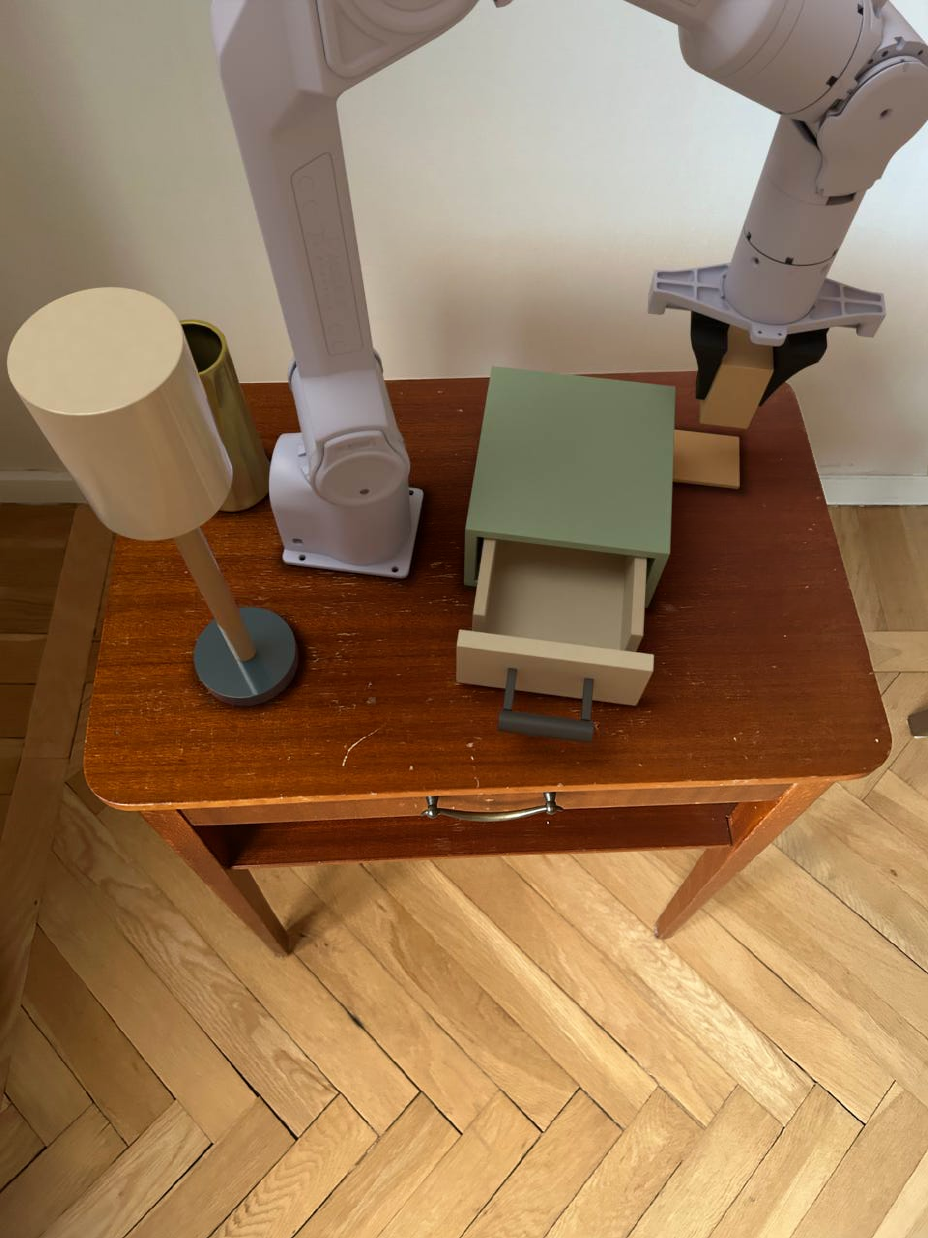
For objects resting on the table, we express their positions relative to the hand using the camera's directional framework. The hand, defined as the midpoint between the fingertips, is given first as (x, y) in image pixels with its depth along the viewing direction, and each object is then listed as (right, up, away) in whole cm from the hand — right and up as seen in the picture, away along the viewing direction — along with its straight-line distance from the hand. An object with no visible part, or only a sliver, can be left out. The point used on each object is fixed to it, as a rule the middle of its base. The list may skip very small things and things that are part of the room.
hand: (728, 392), depth 64 cm
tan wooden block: (0, -1, +1) cm, 1 cm away
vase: (-37, -6, +6) cm, 38 cm away
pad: (0, -4, +7) cm, 8 cm away
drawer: (-13, -18, -1) cm, 22 cm away
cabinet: (-11, -8, +4) cm, 15 cm away
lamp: (-34, -19, -2) cm, 40 cm away
